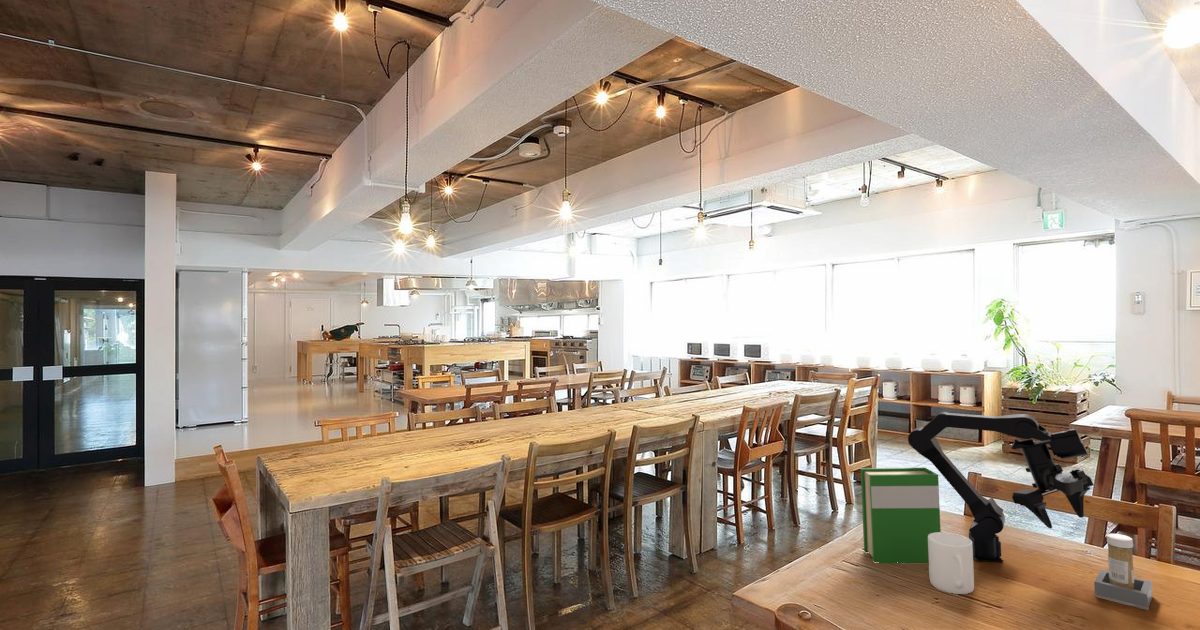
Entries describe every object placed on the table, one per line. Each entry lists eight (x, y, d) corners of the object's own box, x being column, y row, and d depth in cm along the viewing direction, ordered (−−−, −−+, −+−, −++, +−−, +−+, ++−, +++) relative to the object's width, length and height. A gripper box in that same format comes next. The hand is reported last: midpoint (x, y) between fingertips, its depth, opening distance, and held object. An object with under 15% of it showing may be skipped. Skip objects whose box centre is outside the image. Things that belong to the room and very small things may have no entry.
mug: (957, 576, 146) (955, 531, 146) (991, 599, 134) (989, 549, 134) (921, 579, 146) (919, 533, 146) (952, 602, 134) (950, 551, 134)
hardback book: (874, 563, 156) (870, 475, 156) (864, 552, 163) (860, 468, 163) (941, 563, 154) (938, 474, 154) (928, 552, 161) (925, 467, 162)
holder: (1147, 610, 127) (1147, 594, 127) (1094, 596, 134) (1094, 581, 134) (1152, 596, 133) (1151, 581, 133) (1101, 584, 140) (1100, 569, 140)
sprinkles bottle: (1140, 597, 132) (1138, 538, 132) (1125, 599, 131) (1122, 541, 131) (1118, 588, 136) (1116, 531, 136) (1103, 590, 135) (1101, 533, 135)
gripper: (1033, 474, 140) (1060, 538, 137) (1098, 452, 142) (1127, 516, 139) (1000, 471, 151) (1024, 531, 148) (1061, 452, 153) (1086, 510, 150)
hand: (1065, 522), depth 146 cm, fingers open, 9 cm apart
